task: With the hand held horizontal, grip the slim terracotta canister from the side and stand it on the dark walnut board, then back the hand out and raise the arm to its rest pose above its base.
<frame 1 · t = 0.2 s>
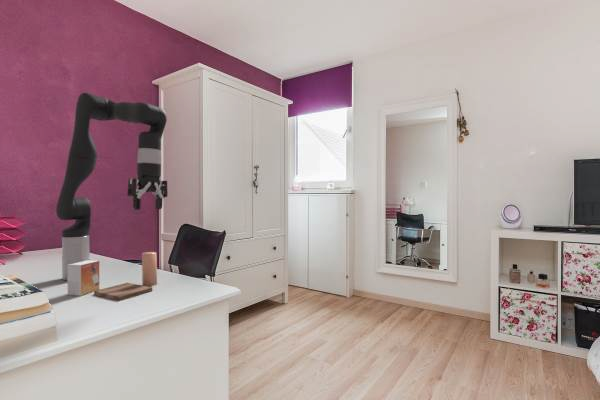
hand: (148, 209, 112), 29 cm above the table, tool pointing down, fingers open, 8 cm apart
small box: (84, 292, 113), on the table
walnut board: (123, 292, 112), on the table
terracotta canister: (149, 284, 122), on the table
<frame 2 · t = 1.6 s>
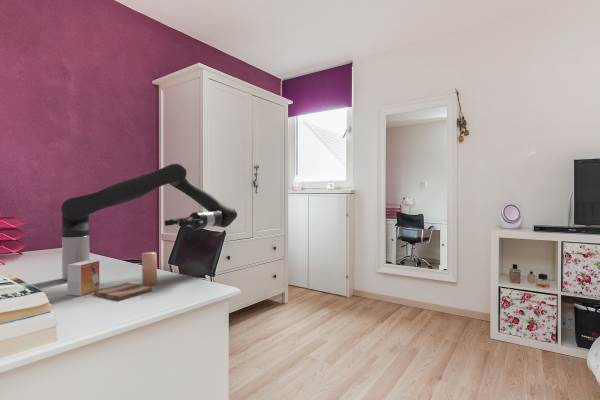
hand: (172, 223, 131), 22 cm above the table, tool horizontal, fingers open, 8 cm apart
nothing on the table moved.
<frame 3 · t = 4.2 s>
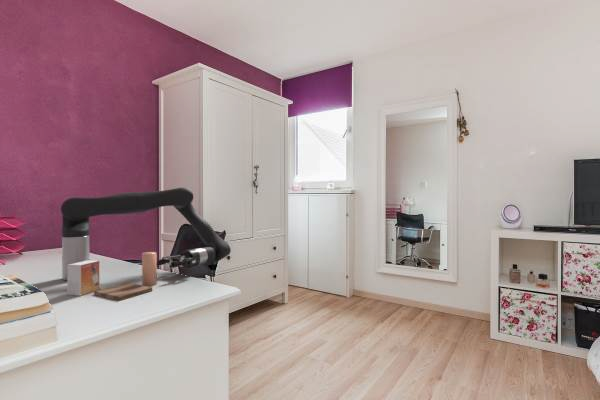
hand: (163, 264, 128), 7 cm above the table, tool horizontal, fingers open, 8 cm apart
nothing on the table moved.
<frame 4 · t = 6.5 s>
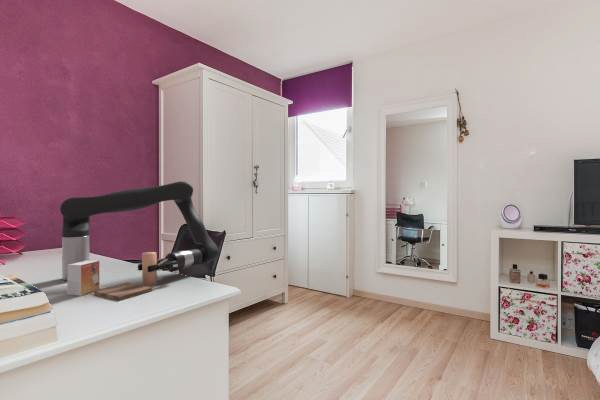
hand: (143, 268, 120), 7 cm above the table, tool horizontal, fingers closed on terracotta canister, 5 cm apart
terracotta canister: (149, 284, 122), on the table, touching gripper
everything else where it was.
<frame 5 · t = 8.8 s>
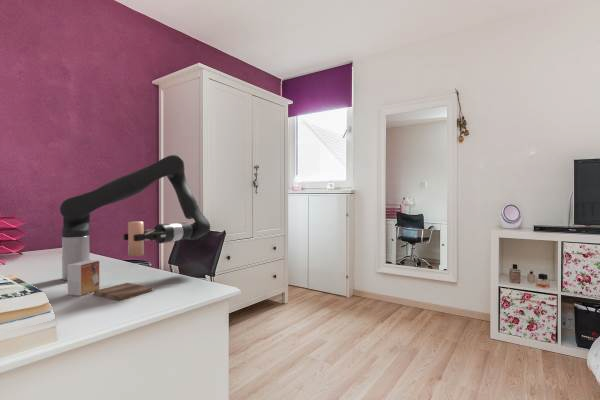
hand: (129, 237, 115), 19 cm above the table, tool horizontal, fingers closed on terracotta canister, 5 cm apart
terracotta canister: (136, 255, 117), point 12 cm above the table, touching gripper
everything else where it was.
when the fingers open (9 cm above the table, at t = 11.5 s): terracotta canister drops 1 cm, resting on walnut board.
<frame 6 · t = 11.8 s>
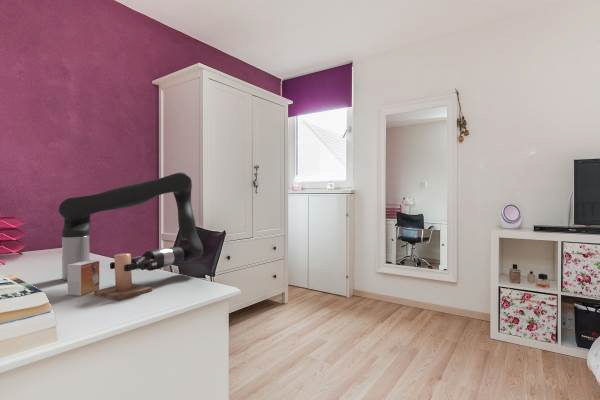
hand: (117, 267, 110), 9 cm above the table, tool horizontal, fingers open, 7 cm apart
terracotta canister: (124, 288, 112), point 1 cm above the table, touching walnut board
everything else where it was.
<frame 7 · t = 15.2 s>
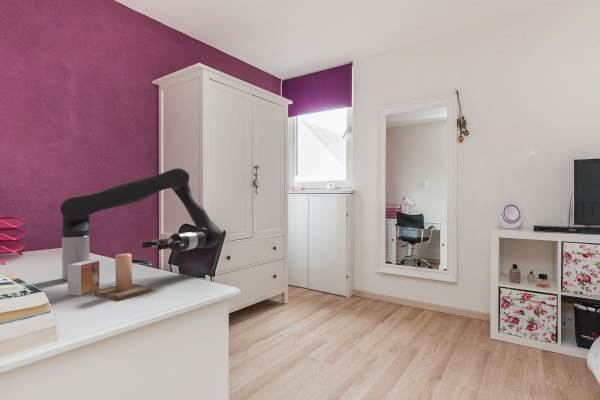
hand: (150, 246, 122), 15 cm above the table, tool horizontal, fingers open, 8 cm apart
nothing on the table moved.
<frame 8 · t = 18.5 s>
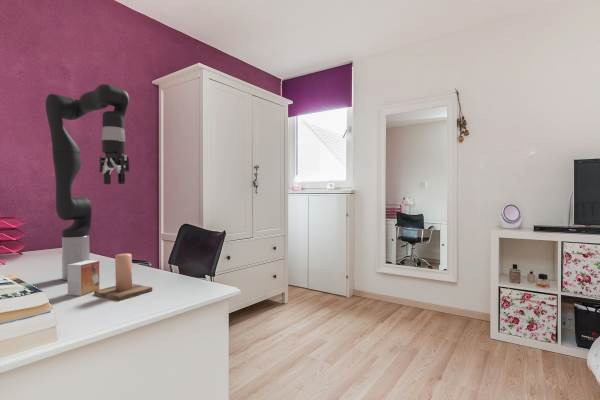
hand: (114, 184, 120), 38 cm above the table, tool pointing down, fingers open, 8 cm apart
nothing on the table moved.
at the end: terracotta canister inside the target area on the walnut board (0.1 cm from its centre), point 1.2 cm above the walnut board's base; terracotta canister tilted 0°; the gripper is holding nothing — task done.
